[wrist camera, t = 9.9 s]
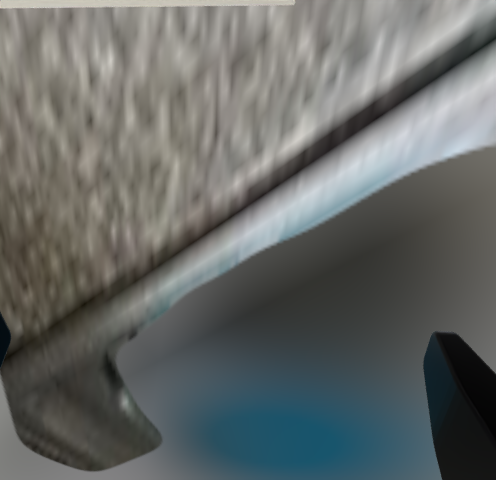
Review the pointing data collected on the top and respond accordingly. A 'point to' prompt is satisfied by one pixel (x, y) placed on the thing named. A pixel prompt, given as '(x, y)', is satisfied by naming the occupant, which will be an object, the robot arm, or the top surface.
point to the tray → (135, 3)
